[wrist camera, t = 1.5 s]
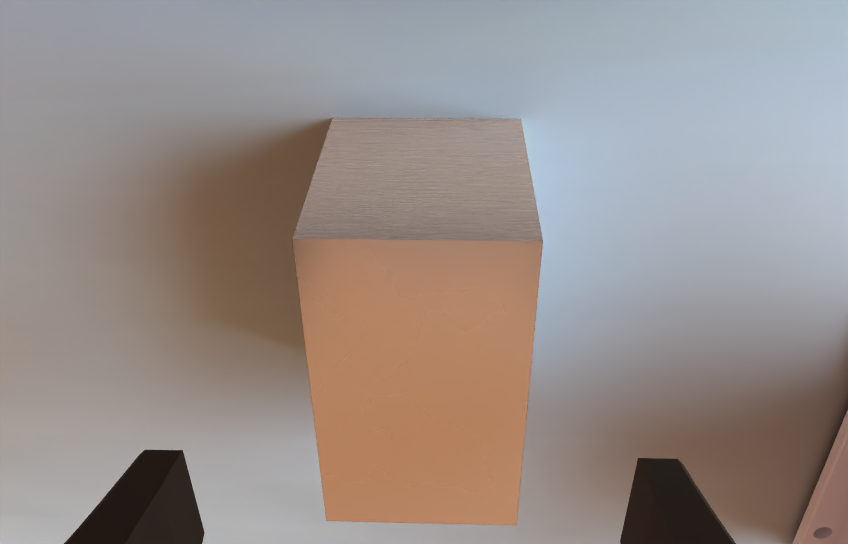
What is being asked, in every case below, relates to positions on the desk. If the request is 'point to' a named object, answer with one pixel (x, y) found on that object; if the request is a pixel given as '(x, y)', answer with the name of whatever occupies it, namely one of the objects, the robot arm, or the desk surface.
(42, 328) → the desk surface
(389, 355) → the light wooden block
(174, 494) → the robot arm
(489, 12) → the desk surface
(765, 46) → the desk surface
